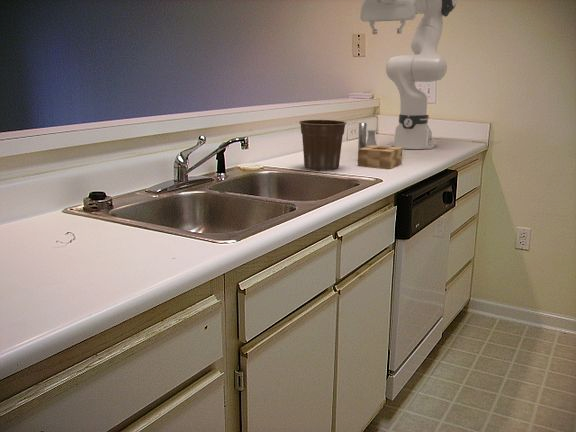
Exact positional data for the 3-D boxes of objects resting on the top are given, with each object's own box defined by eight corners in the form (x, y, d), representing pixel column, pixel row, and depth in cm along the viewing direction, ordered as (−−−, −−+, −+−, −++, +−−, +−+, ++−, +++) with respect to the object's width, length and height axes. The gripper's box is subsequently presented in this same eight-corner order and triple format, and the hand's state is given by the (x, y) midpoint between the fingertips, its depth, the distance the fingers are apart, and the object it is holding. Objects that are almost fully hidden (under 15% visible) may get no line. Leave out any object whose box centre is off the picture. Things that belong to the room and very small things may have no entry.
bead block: (371, 161, 214) (371, 145, 212) (401, 163, 208) (402, 147, 206) (357, 165, 204) (358, 149, 202) (389, 168, 198) (389, 151, 196)
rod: (359, 159, 218) (360, 122, 214) (366, 160, 216) (367, 122, 213) (356, 160, 215) (357, 123, 212) (363, 161, 214) (364, 123, 210)
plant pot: (353, 166, 202) (354, 121, 198) (330, 173, 189) (331, 124, 185) (314, 162, 211) (315, 118, 207) (290, 169, 198) (290, 122, 194)
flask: (379, 157, 223) (380, 131, 221) (360, 156, 225) (361, 131, 222) (380, 154, 230) (381, 129, 228) (362, 154, 232) (363, 129, 229)
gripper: (418, -7, 206) (416, 33, 210) (364, -4, 215) (363, 35, 218) (414, -9, 201) (412, 32, 204) (359, -6, 209) (358, 34, 213)
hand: (386, 33), depth 211 cm, fingers open, 8 cm apart
